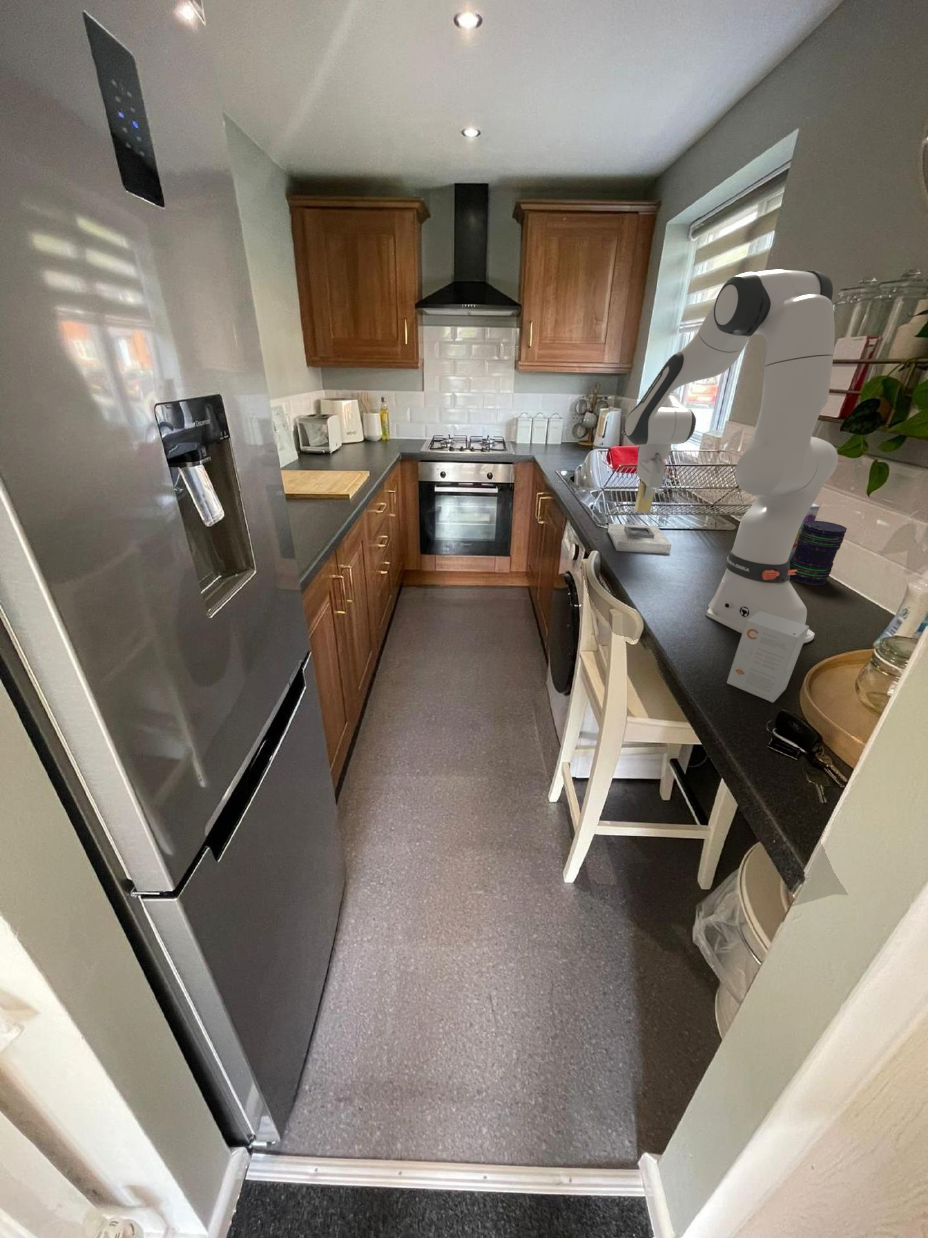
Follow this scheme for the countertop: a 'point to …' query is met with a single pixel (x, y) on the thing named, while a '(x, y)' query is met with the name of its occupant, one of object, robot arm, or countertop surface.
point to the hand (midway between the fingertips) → (645, 496)
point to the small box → (767, 655)
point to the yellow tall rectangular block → (643, 500)
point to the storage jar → (816, 551)
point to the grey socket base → (639, 539)
